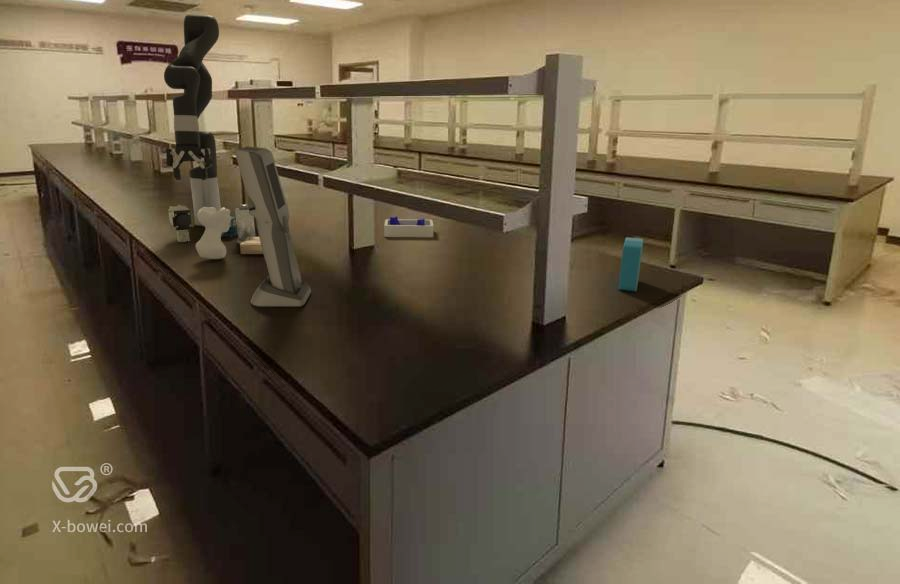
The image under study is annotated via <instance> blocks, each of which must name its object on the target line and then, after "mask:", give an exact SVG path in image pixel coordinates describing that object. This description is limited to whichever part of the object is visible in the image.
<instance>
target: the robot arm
mask: <svg viewBox="0 0 900 584" xmlns="http://www.w3.org/2000/svg"><path fill="white" fill-rule="evenodd" d="M219 37H220V27H219V24H218V20H217V19H216V18H215V16H212V15H209V14H186V15H185V16H184V20H183V40H184V45H183V46H182V48H181V49H180V51H179V54H178V57H177V58H175V59H174V60H173V61H171V62H170V63H169V64H168V65H167V66H166V67H165V70H164V74H163V79H164V83H165V84H166V86H168V87H169V88H170V89H173V90H183V95H180V96H175V97H174V98H172V107H173V130H174V140H175V148H171V147H167V148H166V149H165V152H166V153H165V154H166V155H165V157H166V166H167V167H170V168H172V169H173V177H174V179H175V180H176V181H180V180H181V179H182V178H181V169H180V166H181V165H182V164H183V163H184V162H196V164H198V165H199V166H196V167H193V168H191V169H189V183H190V190H191V197H192V206H193V216H194V225H195V226H198V227H205V226H204V225H202V224H201V223H200V222H199V220H198V218H197V213H198V211H199V210H200V209H201V208H203V207H208V208H210V207H213V208H215V209H216V212H218V211H219V209H220V208H222V207H221V199H220V198H221V197H220V191H219V188H220V187H219V181H218V164H217V146H216V145H217V144H216V139H215V136H214V134H213V133H212V132H211V131H207V130H205V131H204V130H202V131H201V130H200V126H199V118H200V117H201V115H202V114H203V112H204V111H205V109H206V108H207V107H208V105H209V104H210V102H211V100H212V98H213V97H212V96H213V78H212V75H211V73H210V72H209V70H208V68H207V66H206V65H205V64H204V62H203V60H204V58H205V57H206V55H207V54H208V53H209V52H210V51H211V49H212V48H213V47H214V46H215V44H216V43H217V42H218V40H219ZM175 153H176V155H177V157H176V158H175V161H174V155H175Z"/></svg>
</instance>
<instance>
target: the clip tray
mask: <svg viewBox="0 0 900 584" xmlns="http://www.w3.org/2000/svg"><path fill="white" fill-rule="evenodd" d="M417 220H418V219H405V218H404V219H403V218H402V219H401V218H400V219H399V218H398V222H399V223H400V225H390V218H388V219H387V218H386V219H385V220H384V227H383V229H384V230H383V231H384V238H434V222H433V219H425V225H417Z"/></svg>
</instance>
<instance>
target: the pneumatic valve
mask: <svg viewBox="0 0 900 584" xmlns="http://www.w3.org/2000/svg"><path fill="white" fill-rule="evenodd" d="M168 220H169V223H170V225H171V226H172V227H173V228H174V229H175V233H176V236H177V237H176V241H178V243H179V242H181V243H186V242H187V241H188V243H190V242H191V239H190V232H189V230H193V225H192V217H191V210H190V209H189V208H188V207H187V205H181V204H177V205H174V206H169V208H168ZM189 241H190V242H189Z"/></svg>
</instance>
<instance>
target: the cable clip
mask: <svg viewBox="0 0 900 584" xmlns="http://www.w3.org/2000/svg"><path fill="white" fill-rule="evenodd" d="M389 219H390V225H400V223H399V222H398V219H399V218H398V215H392V216H390V217H389ZM416 220H417V225H425V220H426V219H425V218H423V217H422V218H421V217H420V218H418V219H416Z"/></svg>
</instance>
